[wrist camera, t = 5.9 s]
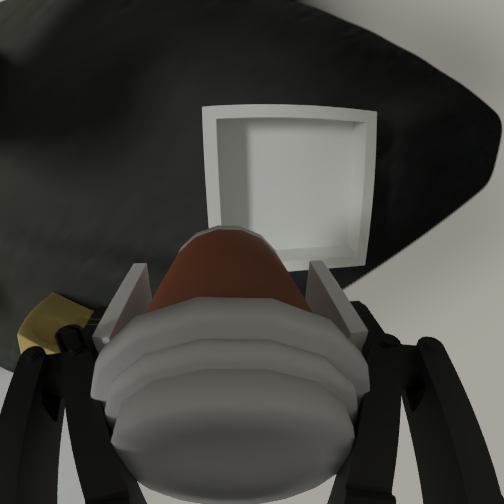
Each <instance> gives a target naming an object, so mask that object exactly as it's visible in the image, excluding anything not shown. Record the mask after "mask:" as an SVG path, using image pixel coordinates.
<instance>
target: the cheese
mask: <svg viewBox="0 0 504 504" xmlns="http://www.w3.org/2000/svg"><path fill="white" fill-rule="evenodd" d="M93 312H94V311H93V310H90V309H88V308H86V307H84V306H82V305H79V304H77V303H75V302H73V301H71V300H69V299H67V298H65V297H63V296H61V295H59V294H57V293H55V292H53V293H52V294H51V295H50V296H48V297H47V298H46V299H44V300H43V301H42V302H41V303H40V304H38V305H37V306H36V307H35V308H34V309H33V310H32V311H31V312H30V314H29V315H28V316H27V318H26V319H25V321H24V322H23V324H22V326H21V328H20V329H19V332H18V334H17V336H18V341H19V346H20V351H21V354H22V353H23V351H25V350H26V349H27V348H29V347H32V346H41V347H42V348H44V350H45V352H46V354H55V353H61V352H60V350H59V347H58V345H57V343H56V340H55V338H54V336H55V333H56V332H57V331H58V329H60V328H61V327H63V326H66V325H70V324H76V325H79V326H81V327H82V328H84V326H85V325H86V323H87V321H88V320H89V318H90V316H91V315H92V313H93Z"/></svg>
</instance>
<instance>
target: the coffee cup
mask: <svg viewBox="0 0 504 504" xmlns="http://www.w3.org/2000/svg"><path fill="white" fill-rule="evenodd" d="M369 391H370V382H369V372H368V365H367V363H366V361H365V359H364V357H363V355H362V353H361V352H360V350H359V349H358V348H357V347H356V346H355V345H354V344H353V343H352V342H351V341H350V340H349V339H348V338H347V337H346V335H345V334H344V333H343V332H342V331H341V330H340V329H339V328H338V327H337V326H336V325H335V324H334V323H333V322H332V321H331V320H330V319H327V318H324V317H322V316H319V315H316V314H314V313H313V312H312V310H311V309H310V307H309V305H308V304H307V302H306V300H305V299H304V297H303V295H302V294H301V292H300V291H299V289H298V287H297V286H296V284H295V282H294V281H293V279H292V278H291V276H290V274H289V273H288V271H287V270H286V268H285V266H284V265H283V263H282V262H281V260H280V258H279V257H278V255H277V253H276V250H275V249H274V248H273V247H272V246H271V245H270V244H269V243H268V242H267V241H266V240H265V239H264V238H263V236H262V235H260V234H258V233H255V232H253V231H251V230H248V229H246V228H244V227H242V226H221V225H217V226H215V227H212V228H209V229H206V230H204V231H201V232H198V233H196V234H195V235H194V236H193V237H192V238H191V239H190V240H188V241H187V242H186V243H185V244H184V245H183V246H182V247H181V248H180V251H179V253H178V255H177V257H176V258H175V260H174V262H173V263H172V265H171V267H170V269H169V270H168V272H167V274H166V276H165V277H164V279H163V281H162V283H161V284H160V286H159V288H158V290H157V291H156V293H155V295H154V297H153V298H152V300H151V302H150V304H149V306H148V308H147V309H146V311H145V313H144V314H142V315H139V316H136V317H134V318H133V319H132V320H131V321H130V322H129V323H128V324H127V325H126V326H125V327H124V328H123V329H122V330H121V331H120V332H119V333H118V334H117V335H115V336H114V337H113V338H112V339H111V340H110V341H109V342H108V343H107V344H106V345H105V346H104V347H103V348H102V349H101V351H100V354H99V356H98V358H97V360H96V362H95V368H94V374H93V380H92V387H91V398H93V399H95V400H100V402H101V404H102V406H103V408H104V410H105V411H104V415H105V418H106V420H107V422H108V424H109V426H110V428H111V430H112V431H113V435H112V439H111V443H112V445H113V447H114V449H115V451H116V453H117V454H118V456H119V457H120V459H121V460H122V461H123V463H124V464H125V466H126V467H127V469H128V470H129V471H130V473H131V474H132V475H133V477H134V478H135V479H136V481H138V482H139V483H141V484H142V485H144V486H146V487H147V488H149V489H151V490H154V491H156V492H159V493H162V494H164V495H167V496H170V497H173V498H176V499H179V500H183V501H189V502H195V503H202V504H260V503H266V502H271V501H277V500H282V499H286V498H288V497H292V496H294V495H297V494H300V493H303V492H305V491H308V490H310V489H313V488H315V487H317V486H319V485H320V484H322V483H323V482H325V481H326V480H328V479H329V478H331V477H332V476H334V475H335V474H337V473H338V472H339V470H340V468H341V467H342V465H343V463H344V462H345V460H346V458H347V456H348V455H349V453H350V451H351V449H352V447H353V444H354V441H355V435H354V429H353V428H354V426H355V424H356V421H357V419H358V415H359V412H358V409H359V407H360V404H361V402H362V400H363V397H364V395H365V393H367V392H369Z"/></svg>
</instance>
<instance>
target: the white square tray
mask: <svg viewBox="0 0 504 504" xmlns="http://www.w3.org/2000/svg"><path fill="white" fill-rule="evenodd" d="M202 119H203V142H204V162H205V179H206V195H207V209H208V223H209V228H212V227H215V226H217V225H221V226H242V227H244V228H246V229H248V230H251V231H253V232H255V233H258V234H260V235H262V236H263V238H264V239H265V240H266V241H267V242H268V243H269V244H270V245H271V246H272V247H273V248H274V249H275V250H276V253H277V255H278V257H279V258H280V260H281V262H282V263H283V265H284V266H285V268H286V270H287V271H300V270H309V261H321V260H322V261H323V262H324V264H325V265H326V267H327V268H338V267H350V266H362V265H365V261H366V254H367V247H368V239H369V231H370V222H371V213H372V202H373V190H374V177H375V160H376V133H377V112H375V111H367V110H359V109H349V108H338V107H325V106H309V105H278V104H254V105H222V106H206V107H202Z"/></svg>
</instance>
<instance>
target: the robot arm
mask: <svg viewBox="0 0 504 504" xmlns="http://www.w3.org/2000/svg"><path fill="white" fill-rule="evenodd" d="M151 300H152V296H151V290H150V283H149V277H148V270H147V263H139V264H133V266H132V268H131V269H130V271H129V272H128V274H127V276H126V277H125V279H124V281H123V282H122V284H121V286H120V287H119V289H118V291H117V293H116V294H115V296H114V298H113V299H112V301H111V303H110V305H109V306H108V307H102V306H100V307H99V308H98V309H96V310H95V311H94V312H93V313H92V315H91V316H90V318H89V320H88V321H87V323H86V325H85V326H84V328H82V327H81V326H79V325H76V324H70V325H66V326H63V327H61V328H60V329H58V331H57V332H56V333H55V336H54V338H55V340H56V343H57V345H58V347H59V350H60V352H61V353H55V354H46V352H45V350H44V348H42V347H41V346H32V347H29V348H27V349H26V350H25V351H23V353H22V354H21V356H20V358H19V361H18V363H17V366H16V369H15V371H14V374H13V377H12V380H11V382H10V386H9V388H8V391H7V394H6V397H5V400H4V404H3V407H2V410H1V414H0V504H57V485H58V464H59V452H60V441H61V432H62V424H63V416H64V409H65V408H66V416H67V422H68V429H69V435H70V440H71V445H72V451H73V455H74V459H75V464H76V469H77V473H78V476H79V481H80V484H81V488H82V491H83V495H84V498H85V504H147V503H146V501H145V498H144V496H143V494H142V492H141V490H140V487H139V485H138V483H137V481H136V479H135V478H134V477H133V475H132V474H131V473H130V471H129V470H128V469H127V467H126V466H125V464H124V463H123V461H122V460H121V459H120V457H119V456H118V454H117V453H116V451H115V449H114V447H113V445H112V443H111V439H112V435H113V431H112V430H111V428H110V426H109V424H108V422H107V420H106V418H105V415H104V411H105V410H104V408H103V406H102V404H101V402H100V400H95V399H93V398H91V387H92V380H93V374H94V368H95V362H96V360H97V358H98V356H99V354H100V351H101V349H102V348H103V347H104V346H105V345H106V344H107V343H108V342H109V341H110V340H111V339H112V338H113V337H114V336H115V335H117V334H118V333H119V332H120V331H121V330H122V329H123V328H124V327H125V326H126V325H127V324H128V323H129V322H130V321H131V320H132V319H133V318H134V317H136V316H139V315H142V314H144V313H145V311H146V309H147V308H148V306H149V304H150V302H151ZM305 300H306V302H307V304H308V305H309V307H310V309H311V310H312V312H313V313H314V314H316V315H319V316H322V317H324V318H327V319H330V320H331V321H332V322H333V323H334V324H335V325H336V326H337V327H338V328H339V329H340V330H341V331H342V332H343V333H344V334H345V335H346V337H347V338H348V339H349V340H350V341H351V342H352V343H353V344H354V345H355V346H356V347H357V348H358V349H359V350H360V352H361V353H362V355H363V357H364V359H365V361H366V363H367V365H368V372H369V382H370V391H369V392H367V393H365V395H364V397H363V400H362V402H361V404H360V407H359V409H358V412H359V415H358V419H357V421H356V424H355V426H354V428H353V429H354V435H355V441H354V444H353V447H352V449H351V451H350V453H349V455H348V456H347V458H346V460H345V462H344V463H343V465H342V467H341V468H340V470H339V472H338V473H337V474H336V478H335V481H334V485H333V488H332V491H331V495H330V497H329V500H328V503H327V504H396V499H395V496H393V495H392V485H393V479H394V472H395V465H396V457H397V447H398V437H399V425H400V409H401V396H402V400H403V404H404V408H405V412H406V415H407V420H408V424H409V428H410V433H411V437H412V442H413V446H414V451H415V456H416V461H417V466H418V472H419V478H420V484H421V490H422V497H423V504H504V498H503V496H502V495H501V492H500V487H499V484H498V480H497V477H496V473H495V470H494V467H493V463H492V460H491V457H490V454H489V451H488V448H487V445H486V442H485V440H484V437H483V434H482V431H481V429H480V426H479V424H478V421H477V419H476V416H475V413H474V411H473V408H472V406H471V404H470V401H469V399H468V397H467V394H466V392H465V390H464V387H463V385H462V383H461V381H460V379H459V377H458V375H457V372H456V370H455V368H454V366H453V364H452V362H451V360H450V358H449V356H448V354H447V352H446V350H445V348H444V346H443V344H442V343H441V342H440V341H438V340H437V339H435V338H432V337H422V338H421V339H419V340H418V343H417V345H416V346H414V345H403V344H401V343H400V341H399V340H398V338H396V337H395V336H393V335H390V334H386V333H384V331H383V330H382V328H381V327H380V325H379V324H378V323H377V321H376V320H375V318H374V317H373V315H372V314H371V313H370V311H369V310H368V308H367V307H366V306H365V305H364V304H362V303H361V302H359V301H349V300H348V298H347V297H346V295H345V294H344V292H343V291H342V289H341V288H340V286H339V284H338V283H337V281H336V280H335V278H334V277H333V275H332V274H331V273H330V271H329V270H328V268H327V267H326V265H325V264H324V262H323V261H322V260H321V261H309V271H308V280H307V289H306V297H305Z"/></svg>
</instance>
